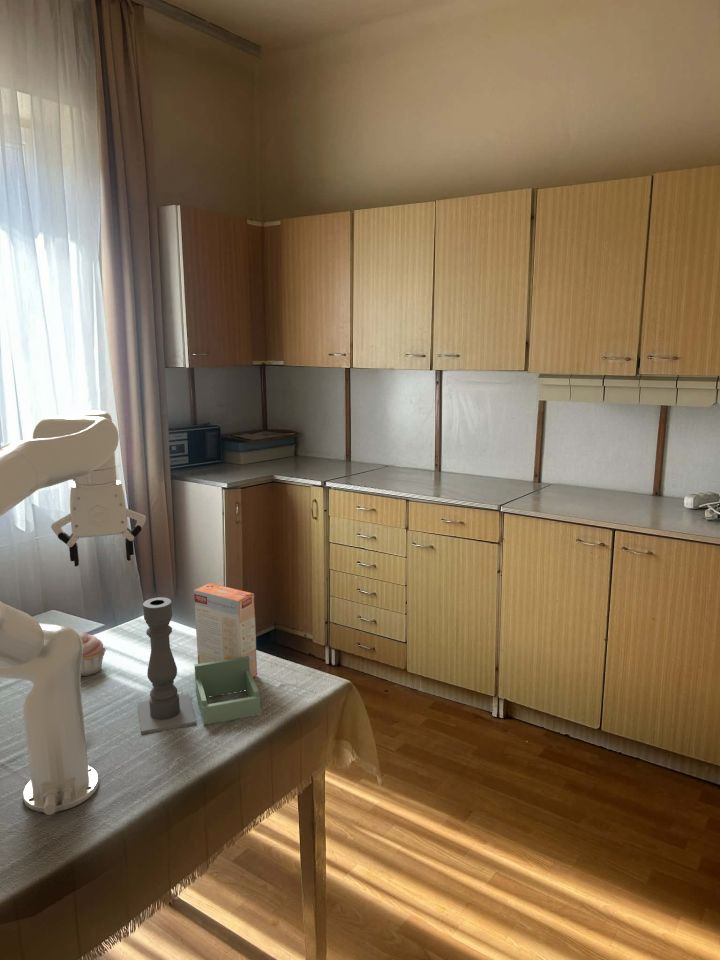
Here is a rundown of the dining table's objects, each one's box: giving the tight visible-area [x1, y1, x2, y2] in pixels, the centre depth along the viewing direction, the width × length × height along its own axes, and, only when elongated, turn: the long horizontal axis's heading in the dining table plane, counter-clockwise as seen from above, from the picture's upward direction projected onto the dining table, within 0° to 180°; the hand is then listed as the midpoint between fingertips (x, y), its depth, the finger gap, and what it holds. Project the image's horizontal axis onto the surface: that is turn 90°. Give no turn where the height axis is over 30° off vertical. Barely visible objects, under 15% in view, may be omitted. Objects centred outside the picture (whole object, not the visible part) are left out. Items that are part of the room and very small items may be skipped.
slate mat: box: [137, 693, 197, 735], centre depth 156 cm, size 12×11×1 cm
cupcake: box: [78, 631, 107, 677], centre depth 175 cm, size 9×9×10 cm
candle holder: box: [142, 597, 180, 720], centre depth 153 cm, size 6×6×25 cm
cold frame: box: [194, 656, 261, 726], centre depth 159 cm, size 12×12×8 cm
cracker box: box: [193, 582, 258, 678], centre depth 172 cm, size 14×6×21 cm, turn 58°
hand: (103, 561), depth 143 cm, fingers open, 9 cm apart
